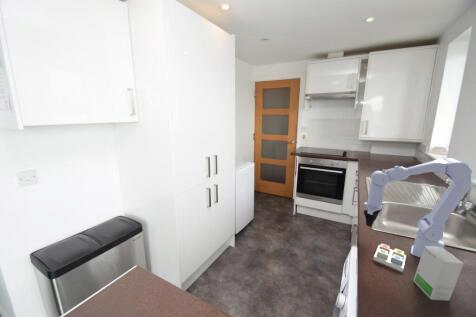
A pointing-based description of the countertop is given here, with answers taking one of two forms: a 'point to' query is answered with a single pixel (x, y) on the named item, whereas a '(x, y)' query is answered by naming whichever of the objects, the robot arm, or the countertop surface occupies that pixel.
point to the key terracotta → (384, 247)
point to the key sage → (382, 254)
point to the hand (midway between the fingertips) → (370, 222)
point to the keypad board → (389, 260)
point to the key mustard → (398, 252)
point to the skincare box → (437, 273)
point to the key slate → (397, 259)
